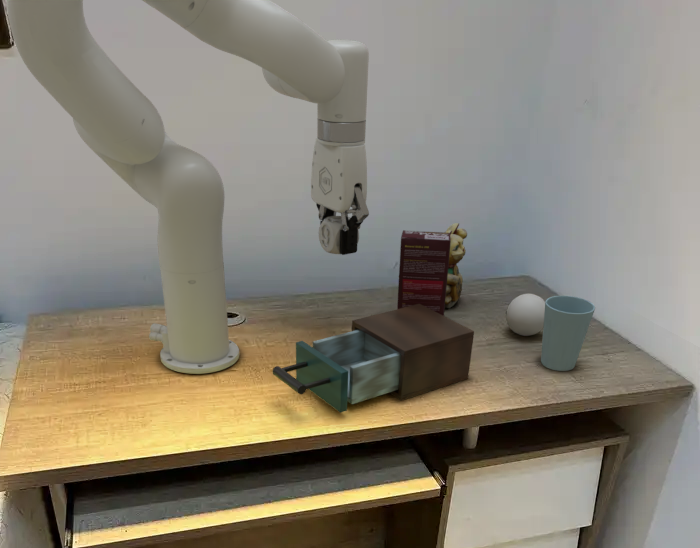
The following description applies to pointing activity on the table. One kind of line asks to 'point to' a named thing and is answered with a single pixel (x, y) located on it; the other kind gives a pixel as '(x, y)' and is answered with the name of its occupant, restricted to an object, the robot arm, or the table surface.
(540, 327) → the white ball
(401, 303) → the supplement box
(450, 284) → the decorative figurine
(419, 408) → the table surface
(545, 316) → the cup
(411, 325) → the cabinet
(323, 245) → the die
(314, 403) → the table surface
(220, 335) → the robot arm
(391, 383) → the teal pull-out drawer
